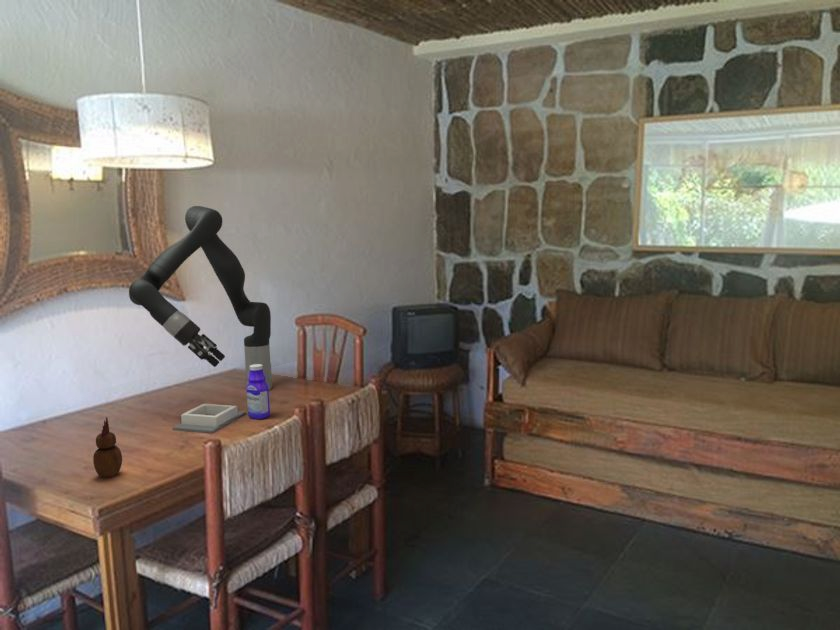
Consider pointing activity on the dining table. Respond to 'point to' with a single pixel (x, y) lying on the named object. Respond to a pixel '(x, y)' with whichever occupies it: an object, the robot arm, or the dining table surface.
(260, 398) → the bottle
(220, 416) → the bottle stand
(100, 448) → the wooden figurine
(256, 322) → the robot arm
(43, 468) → the dining table surface
